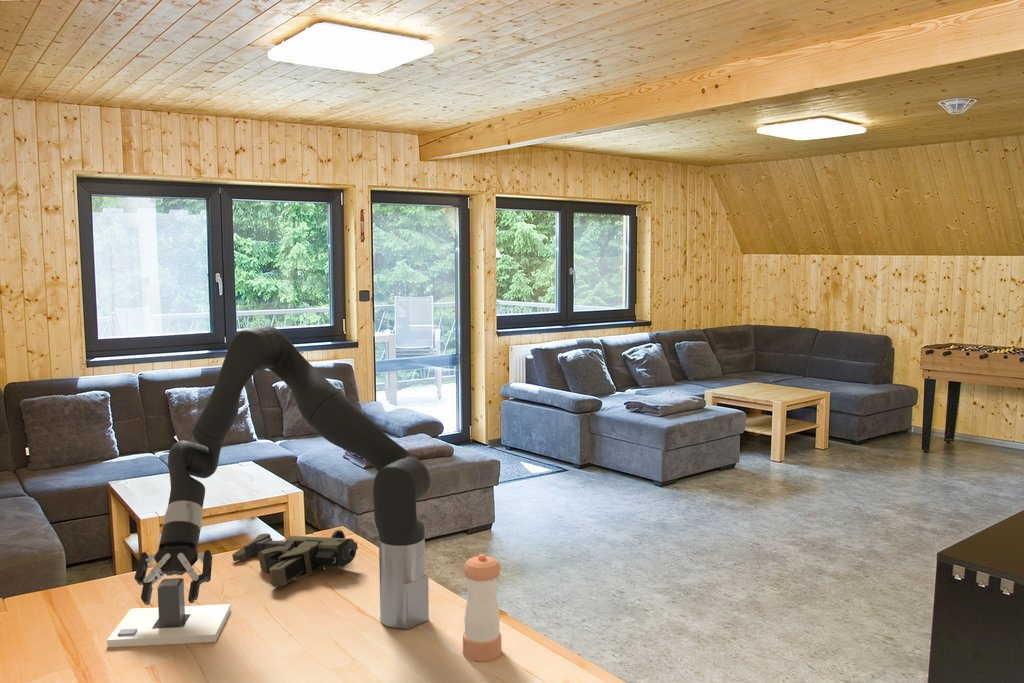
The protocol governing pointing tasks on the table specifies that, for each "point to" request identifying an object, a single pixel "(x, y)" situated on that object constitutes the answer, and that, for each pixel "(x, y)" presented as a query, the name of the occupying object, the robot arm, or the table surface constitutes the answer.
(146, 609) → the plate
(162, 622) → the grey rectangular peg
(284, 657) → the table surface
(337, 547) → the futuristic firearm
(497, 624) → the pepper shaker
